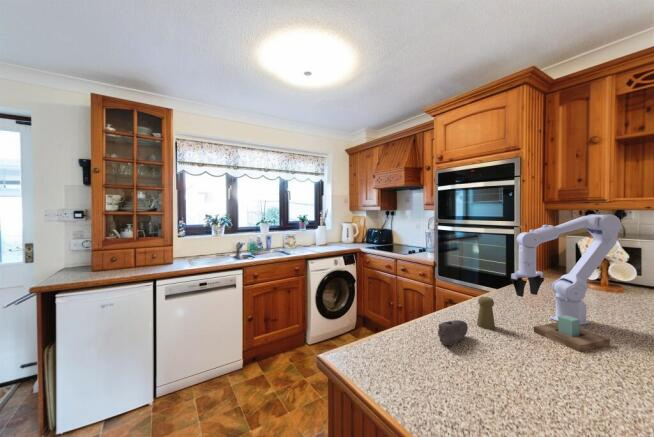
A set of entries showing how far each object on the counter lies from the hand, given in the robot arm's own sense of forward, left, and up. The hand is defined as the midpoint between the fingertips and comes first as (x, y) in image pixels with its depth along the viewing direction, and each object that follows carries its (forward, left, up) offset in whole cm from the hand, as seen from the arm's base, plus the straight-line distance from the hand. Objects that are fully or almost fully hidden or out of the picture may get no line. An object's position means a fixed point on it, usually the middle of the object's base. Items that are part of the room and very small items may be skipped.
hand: (526, 295), depth 107 cm
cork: (+22, +1, -10) cm, 24 cm away
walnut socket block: (+3, +17, -10) cm, 20 cm away
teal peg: (+3, +17, -10) cm, 19 cm away
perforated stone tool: (+42, +7, -10) cm, 43 cm away
